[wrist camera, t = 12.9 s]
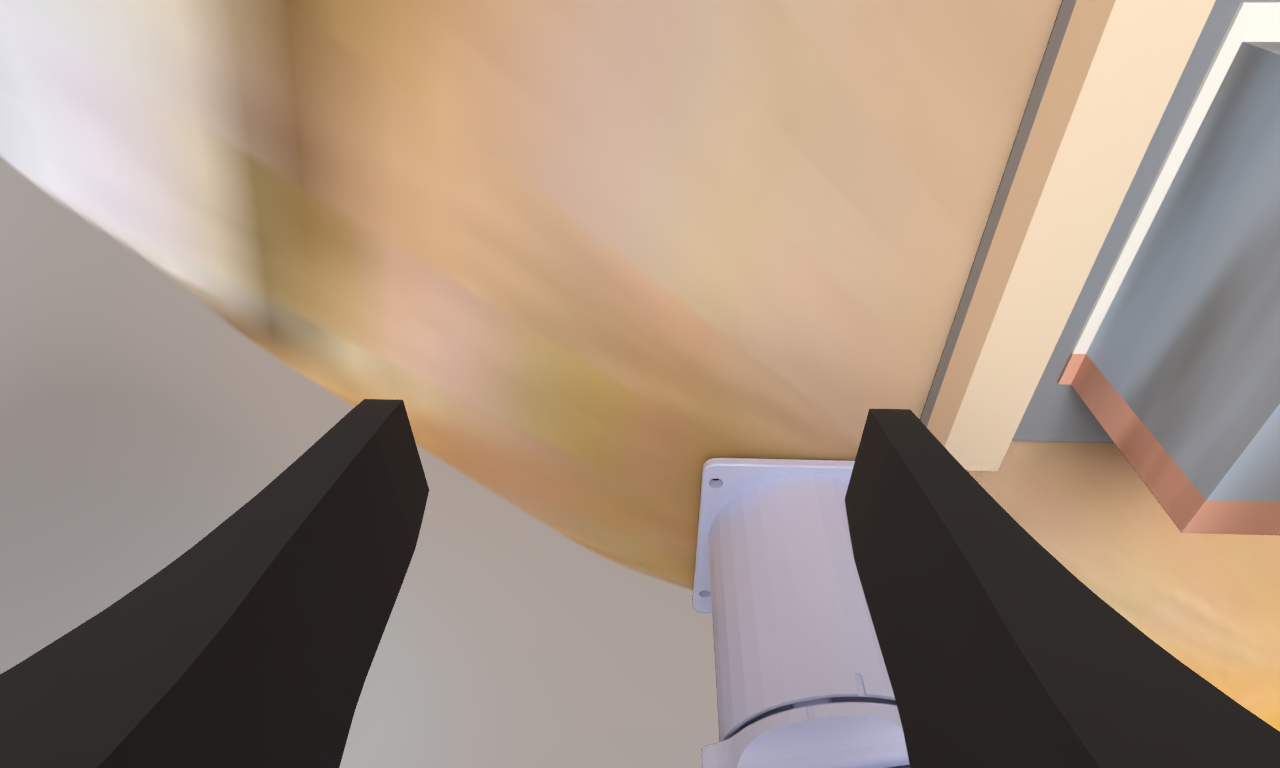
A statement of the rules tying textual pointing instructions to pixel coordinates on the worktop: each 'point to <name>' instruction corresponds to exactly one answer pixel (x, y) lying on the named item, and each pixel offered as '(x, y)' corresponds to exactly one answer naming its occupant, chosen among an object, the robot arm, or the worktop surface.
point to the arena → (1078, 212)
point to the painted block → (1205, 322)
